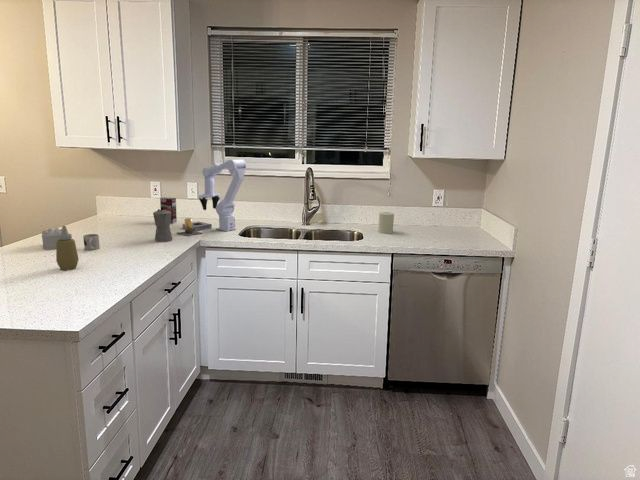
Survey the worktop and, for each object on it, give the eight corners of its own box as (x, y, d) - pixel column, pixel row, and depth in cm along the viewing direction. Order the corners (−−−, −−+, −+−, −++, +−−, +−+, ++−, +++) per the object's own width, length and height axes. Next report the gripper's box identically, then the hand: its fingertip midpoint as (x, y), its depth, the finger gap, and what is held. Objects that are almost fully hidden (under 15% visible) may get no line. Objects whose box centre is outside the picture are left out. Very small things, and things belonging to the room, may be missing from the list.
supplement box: (161, 222, 284) (159, 198, 280) (165, 221, 288) (164, 197, 285) (172, 224, 281) (171, 198, 278) (177, 222, 286) (176, 197, 282)
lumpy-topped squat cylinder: (43, 250, 212) (41, 232, 210) (42, 244, 223) (40, 227, 221) (68, 248, 218) (66, 230, 216) (66, 242, 228) (64, 226, 226)
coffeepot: (176, 241, 236) (174, 207, 232) (157, 243, 231) (155, 209, 227) (168, 236, 249) (166, 203, 244) (150, 237, 243) (148, 204, 239)
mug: (85, 247, 220) (84, 234, 218) (100, 246, 222) (99, 233, 221) (82, 252, 211) (81, 238, 209) (98, 251, 213) (97, 238, 212)
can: (392, 230, 278) (393, 211, 276) (393, 233, 269) (394, 214, 267) (377, 230, 279) (378, 211, 276) (378, 233, 270) (379, 213, 268)
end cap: (194, 232, 256) (193, 219, 254) (187, 233, 253) (186, 219, 251) (191, 231, 259) (190, 217, 257) (183, 232, 256) (183, 218, 255)
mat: (202, 233, 257) (202, 232, 257) (187, 236, 249) (187, 235, 249) (191, 230, 263) (191, 230, 263) (176, 233, 255) (176, 232, 255)
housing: (211, 228, 272) (211, 224, 271) (195, 231, 263) (195, 226, 262) (199, 225, 279) (199, 221, 278) (182, 228, 270) (182, 224, 269)
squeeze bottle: (74, 264, 191) (70, 223, 187) (82, 268, 186) (78, 226, 182) (53, 268, 185) (49, 225, 181) (62, 272, 180) (57, 228, 176)
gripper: (214, 185, 281) (214, 206, 284) (195, 187, 270) (195, 209, 273) (222, 186, 277) (222, 208, 280) (203, 188, 266) (203, 211, 269)
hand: (209, 209), depth 276 cm, fingers open, 7 cm apart
